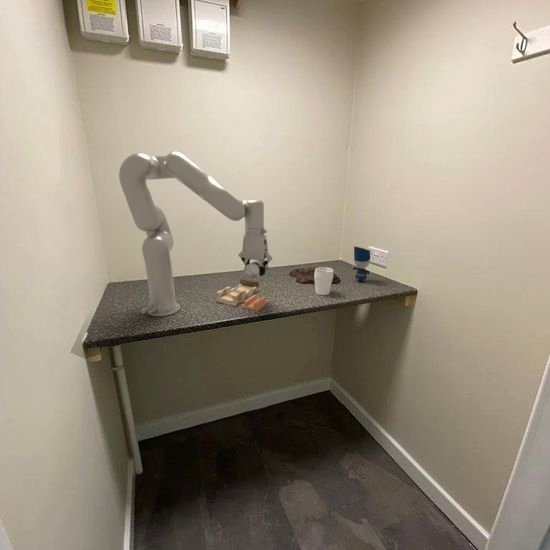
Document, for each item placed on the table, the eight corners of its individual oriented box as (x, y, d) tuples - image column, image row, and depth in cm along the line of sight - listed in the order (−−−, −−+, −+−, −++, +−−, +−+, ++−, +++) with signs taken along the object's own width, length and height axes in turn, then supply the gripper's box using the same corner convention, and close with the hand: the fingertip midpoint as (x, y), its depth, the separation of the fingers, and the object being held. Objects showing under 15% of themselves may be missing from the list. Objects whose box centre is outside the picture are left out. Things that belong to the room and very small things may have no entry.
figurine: (374, 283, 154) (378, 247, 148) (362, 286, 149) (367, 249, 143) (355, 277, 164) (359, 242, 158) (344, 279, 159) (347, 244, 153)
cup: (316, 296, 135) (317, 272, 131) (311, 290, 143) (312, 267, 139) (334, 295, 136) (336, 271, 132) (328, 289, 144) (329, 266, 141)
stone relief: (325, 262, 179) (349, 276, 151) (325, 269, 180) (348, 284, 152) (285, 265, 172) (302, 280, 145) (285, 272, 174) (302, 288, 146)
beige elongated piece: (235, 306, 123) (235, 295, 121) (216, 301, 127) (216, 291, 126) (258, 290, 141) (258, 281, 140) (241, 287, 145) (241, 278, 144)
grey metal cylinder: (255, 280, 116) (256, 266, 114) (243, 276, 118) (243, 263, 116) (267, 273, 124) (268, 260, 122) (256, 270, 127) (256, 257, 125)
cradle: (257, 311, 118) (257, 304, 118) (241, 307, 122) (241, 301, 121) (268, 302, 127) (268, 296, 126) (253, 299, 130) (253, 293, 129)
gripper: (277, 232, 114) (277, 274, 120) (241, 228, 121) (242, 269, 127) (269, 234, 108) (269, 279, 113) (231, 231, 115) (233, 273, 120)
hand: (255, 273), depth 120 cm, fingers closed on grey metal cylinder, 6 cm apart
